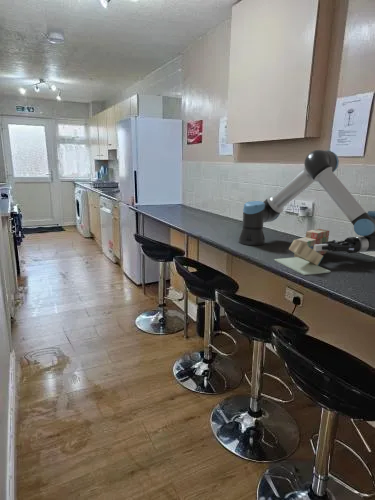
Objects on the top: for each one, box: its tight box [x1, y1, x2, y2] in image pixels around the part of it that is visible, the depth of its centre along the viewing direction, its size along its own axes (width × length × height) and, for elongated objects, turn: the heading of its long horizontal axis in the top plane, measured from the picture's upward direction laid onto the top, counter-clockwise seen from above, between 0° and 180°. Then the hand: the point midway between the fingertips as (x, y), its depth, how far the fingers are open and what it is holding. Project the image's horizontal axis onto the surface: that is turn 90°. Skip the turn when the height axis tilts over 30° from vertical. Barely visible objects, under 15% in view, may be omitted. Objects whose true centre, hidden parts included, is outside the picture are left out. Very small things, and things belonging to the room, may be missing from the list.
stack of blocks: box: [293, 228, 330, 260], centre depth 165 cm, size 21×6×12 cm, turn 131°
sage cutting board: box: [273, 256, 331, 276], centre depth 148 cm, size 22×14×1 cm, turn 19°
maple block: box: [288, 239, 325, 266], centre depth 147 cm, size 5×5×15 cm
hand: (314, 247), depth 148 cm, fingers closed
